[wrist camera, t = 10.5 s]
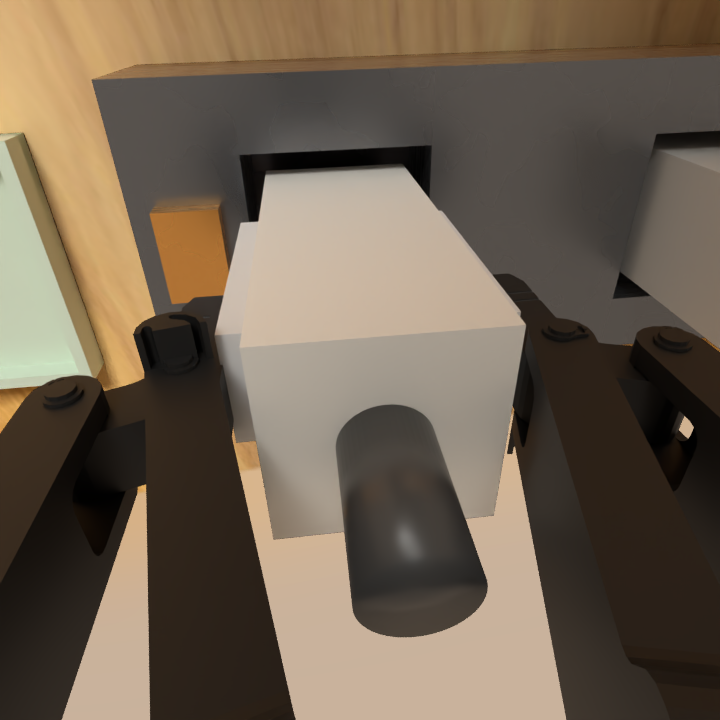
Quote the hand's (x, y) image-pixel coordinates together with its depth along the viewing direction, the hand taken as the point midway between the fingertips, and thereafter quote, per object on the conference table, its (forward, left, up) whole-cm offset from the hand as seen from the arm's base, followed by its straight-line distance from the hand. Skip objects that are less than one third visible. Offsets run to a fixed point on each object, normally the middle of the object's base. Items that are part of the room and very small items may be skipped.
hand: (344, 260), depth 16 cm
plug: (0, 0, -3) cm, 3 cm away
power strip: (0, +7, -6) cm, 9 cm away
